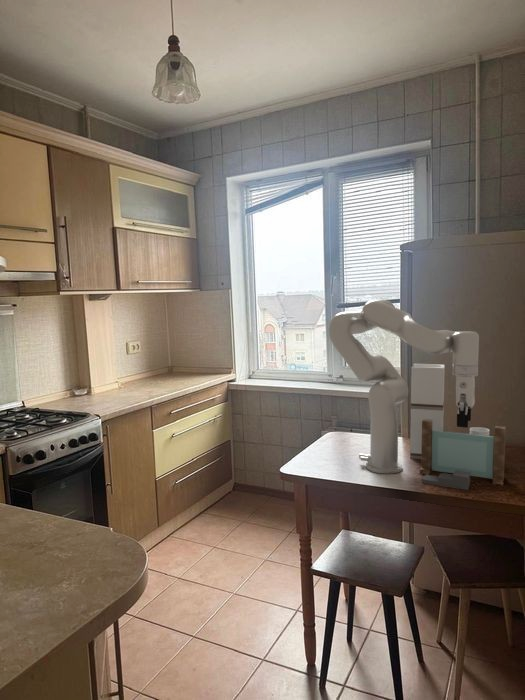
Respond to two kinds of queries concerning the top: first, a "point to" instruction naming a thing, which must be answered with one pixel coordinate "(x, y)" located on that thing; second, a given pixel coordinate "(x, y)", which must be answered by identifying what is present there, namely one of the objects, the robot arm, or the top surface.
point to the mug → (479, 431)
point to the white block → (425, 402)
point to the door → (463, 453)
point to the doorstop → (450, 480)
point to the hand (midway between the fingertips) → (463, 423)
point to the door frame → (498, 451)
